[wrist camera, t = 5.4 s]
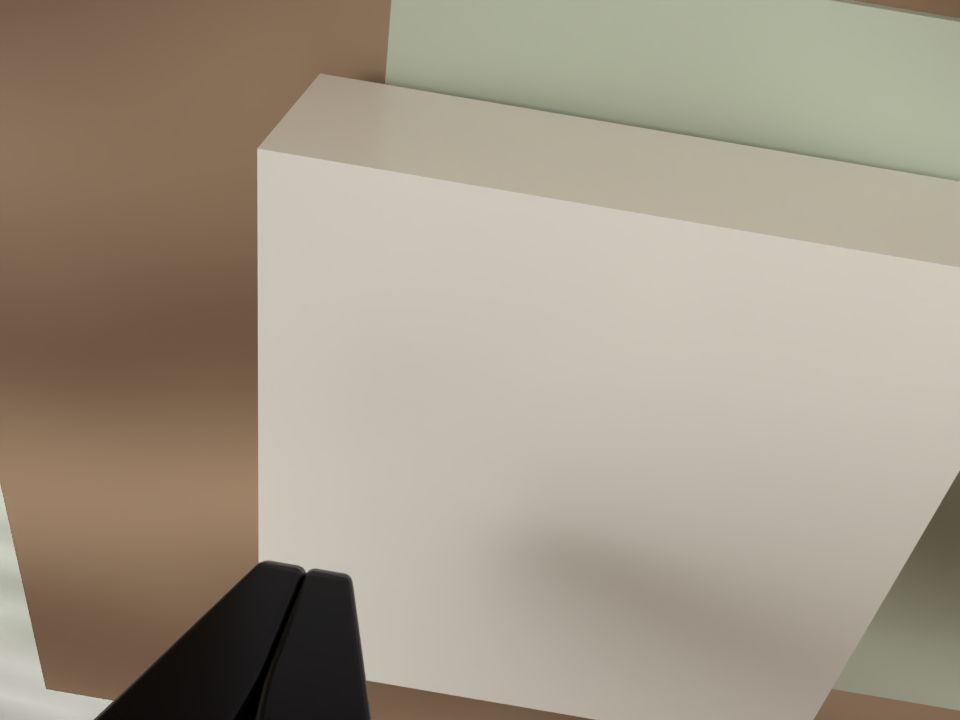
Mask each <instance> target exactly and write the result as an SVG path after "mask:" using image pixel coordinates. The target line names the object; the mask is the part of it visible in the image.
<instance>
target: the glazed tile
mask: <svg viewBox="0 0 960 720" xmlns="http://www.w3.org/2000/svg"><path fill="white" fill-rule="evenodd" d="M257 233H258V561H259V563H260V562H263V561H265V560H268V561H269V560H270V561H276V562H282V563H288V564H294V565H299V566H301V567H303V568H304V569H305V571H306V573H307V572H308V571H309V570H310V569H314V568H317V569H323V570H329V571H334V572H340V573H346V574H348V575H349V576H350V577H351V578H352V581H353V587H354V594H355V602H356V609H357V617H358V624H359V631H360V639H361V646H362V654H363V661H364V668H365V676H366V680H367V681H373V682H378V683H384V684H390V685H396V686H402V687H408V688H414V689H419V690H425V691H431V692H437V693H443V694H449V695H454V696H460V697H466V698H472V699H478V700H484V701H489V702H495V703H501V704H507V705H513V706H519V707H525V708H530V709H536V710H542V711H548V712H554V713H560V714H565V715H571V716H577V717H583V718H589V719H595V720H814V718H815V716H816V715H817V713H818V711H819V710H820V708H821V706H822V704H823V703H824V701H825V699H826V698H827V696H828V694H829V693H830V691H831V689H832V687H833V686H834V684H835V682H836V681H837V679H838V677H839V675H840V674H841V672H842V670H843V669H844V667H845V665H846V664H847V662H848V660H849V658H850V657H851V655H852V653H853V652H854V650H855V648H856V646H857V645H858V643H859V641H860V640H861V638H862V636H863V635H864V633H865V631H866V629H867V628H868V626H869V624H870V623H871V621H872V619H873V618H874V616H875V614H876V612H877V611H878V609H879V607H880V606H881V604H882V602H883V600H884V599H885V597H886V595H887V594H888V592H889V590H890V589H891V587H892V585H893V583H894V582H895V580H896V578H897V577H898V575H899V573H900V571H901V570H902V568H903V566H904V565H905V563H906V561H907V560H908V558H909V556H910V554H911V553H912V551H913V549H914V548H915V546H916V544H917V542H918V541H919V539H920V537H921V536H922V534H923V532H924V531H925V529H926V527H927V525H928V524H929V522H930V520H931V519H932V517H933V515H934V513H935V512H936V510H937V508H938V507H939V505H940V503H941V502H942V500H943V498H944V496H945V495H946V493H947V491H948V490H949V488H950V486H951V484H952V483H953V481H954V479H955V478H956V476H957V474H958V473H959V471H960V181H954V180H948V179H942V178H936V177H930V176H924V175H918V174H912V173H906V172H901V171H895V170H889V169H883V168H877V167H871V166H865V165H859V164H853V163H847V162H841V161H835V160H830V159H824V158H818V157H812V156H806V155H800V154H794V153H788V152H782V151H776V150H770V149H764V148H759V147H753V146H747V145H741V144H735V143H729V142H723V141H717V140H711V139H705V138H699V137H693V136H688V135H682V134H676V133H670V132H664V131H658V130H652V129H646V128H640V127H634V126H628V125H622V124H617V123H611V122H605V121H599V120H593V119H587V118H581V117H575V116H569V115H563V114H557V113H551V112H546V111H540V110H534V109H528V108H522V107H516V106H510V105H504V104H498V103H492V102H486V101H480V100H475V99H469V98H463V97H457V96H451V95H445V94H439V93H433V92H427V91H421V90H415V89H409V88H404V87H398V86H392V85H386V84H380V83H374V82H368V81H362V80H356V79H350V78H344V77H338V76H333V75H327V74H321V73H320V74H319V75H318V77H317V78H316V79H315V80H314V81H313V83H312V84H311V85H310V86H309V87H308V89H307V90H306V91H305V92H304V93H303V94H302V96H301V97H300V98H299V99H298V100H297V102H296V103H295V104H294V105H293V106H292V108H291V109H290V110H289V111H288V112H287V114H286V115H285V116H284V117H283V118H282V120H281V121H280V122H279V123H278V124H277V126H276V127H275V128H274V129H273V130H272V132H271V133H270V134H269V135H268V136H267V138H266V139H265V140H264V141H263V142H262V143H261V145H260V146H259V147H258V148H257Z"/></svg>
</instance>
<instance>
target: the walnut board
mask: <svg viewBox="0 0 960 720" xmlns="http://www.w3.org/2000/svg"><path fill="white" fill-rule="evenodd" d="M320 73H321V74H327V75H333V76H338V77H344V78H350V79H356V80H362V81H368V82H374V83H380V84H386V85H392V86H398V87H404V88H409V89H415V90H421V91H427V92H433V93H439V94H445V95H451V96H457V97H463V98H469V99H475V100H480V101H486V102H492V103H498V104H504V105H510V106H516V107H522V108H528V109H534V110H540V111H546V112H551V113H557V114H563V115H569V116H575V117H581V118H587V119H593V120H599V121H605V122H611V123H617V124H622V125H628V126H634V127H640V128H646V129H652V130H658V131H664V132H670V133H676V134H682V135H688V136H693V137H699V138H705V139H711V140H717V141H723V142H729V143H735V144H741V145H747V146H753V147H759V148H764V149H770V150H776V151H782V152H788V153H794V154H800V155H806V156H812V157H818V158H824V159H830V160H835V161H841V162H847V163H853V164H859V165H865V166H871V167H877V168H883V169H889V170H895V171H901V172H906V173H912V174H918V175H924V176H930V177H936V178H942V179H948V180H954V181H960V0H0V484H1V488H2V493H3V497H4V502H5V506H6V511H7V515H8V520H9V524H10V529H11V533H12V538H13V542H14V547H15V551H16V556H17V560H18V565H19V569H20V574H21V578H22V583H23V587H24V592H25V596H26V601H27V605H28V610H29V614H30V619H31V623H32V628H33V632H34V637H35V641H36V646H37V650H38V655H39V659H40V664H41V668H42V673H43V677H44V682H45V686H46V689H49V690H55V691H61V692H67V693H73V694H79V695H84V696H90V697H96V698H102V699H108V700H115V699H116V698H117V697H118V696H119V695H120V694H121V693H122V692H123V691H125V690H126V689H127V688H128V687H129V686H130V685H131V684H132V683H133V682H134V681H135V680H136V679H137V678H138V677H139V676H140V675H141V674H142V673H143V672H144V671H146V670H147V669H148V668H149V667H150V666H151V665H152V664H153V663H154V662H155V661H156V660H157V659H158V658H159V657H160V656H161V655H162V654H163V653H164V652H165V651H167V650H168V649H169V648H170V647H171V646H172V645H173V644H174V643H175V642H176V641H177V640H178V639H179V638H180V637H181V636H182V635H183V634H184V633H185V632H186V631H187V630H189V629H190V628H191V627H192V626H193V625H194V624H195V623H196V622H197V621H198V620H199V619H200V618H201V617H202V616H203V615H204V614H205V613H206V612H207V611H208V610H210V609H211V608H212V607H213V606H214V605H215V604H216V603H217V602H218V601H219V600H220V599H221V598H222V597H223V596H224V595H225V594H226V593H227V592H228V591H229V590H231V589H232V588H233V587H234V586H235V585H236V584H237V583H238V582H239V581H240V580H241V579H242V578H243V577H244V576H245V575H246V574H247V573H248V572H249V571H250V570H252V569H253V568H254V567H255V566H256V565H257V564H258V563H259V561H258V233H257V148H258V147H259V146H260V145H261V143H262V142H263V141H264V140H265V139H266V138H267V136H268V135H269V134H270V133H271V132H272V130H273V129H274V128H275V127H276V126H277V124H278V123H279V122H280V121H281V120H282V118H283V117H284V116H285V115H286V114H287V112H288V111H289V110H290V109H291V108H292V106H293V105H294V104H295V103H296V102H297V100H298V99H299V98H300V97H301V96H302V94H303V93H304V92H305V91H306V90H307V89H308V87H309V86H310V85H311V84H312V83H313V81H314V80H315V79H316V78H317V77H318V75H319V74H320ZM366 683H367V691H368V698H369V706H370V713H371V720H595V719H589V718H583V717H577V716H571V715H565V714H560V713H554V712H548V711H542V710H536V709H530V708H525V707H519V706H513V705H507V704H501V703H495V702H489V701H484V700H478V699H472V698H466V697H460V696H454V695H449V694H443V693H437V692H431V691H425V690H419V689H414V688H408V687H402V686H396V685H390V684H384V683H378V682H373V681H367V680H366ZM814 720H960V471H959V473H958V474H957V476H956V478H955V479H954V481H953V483H952V484H951V486H950V488H949V490H948V491H947V493H946V495H945V496H944V498H943V500H942V502H941V503H940V505H939V507H938V508H937V510H936V512H935V513H934V515H933V517H932V519H931V520H930V522H929V524H928V525H927V527H926V529H925V531H924V532H923V534H922V536H921V537H920V539H919V541H918V542H917V544H916V546H915V548H914V549H913V551H912V553H911V554H910V556H909V558H908V560H907V561H906V563H905V565H904V566H903V568H902V570H901V571H900V573H899V575H898V577H897V578H896V580H895V582H894V583H893V585H892V587H891V589H890V590H889V592H888V594H887V595H886V597H885V599H884V600H883V602H882V604H881V606H880V607H879V609H878V611H877V612H876V614H875V616H874V618H873V619H872V621H871V623H870V624H869V626H868V628H867V629H866V631H865V633H864V635H863V636H862V638H861V640H860V641H859V643H858V645H857V646H856V648H855V650H854V652H853V653H852V655H851V657H850V658H849V660H848V662H847V664H846V665H845V667H844V669H843V670H842V672H841V674H840V675H839V677H838V679H837V681H836V682H835V684H834V686H833V687H832V689H831V691H830V693H829V694H828V696H827V698H826V699H825V701H824V703H823V704H822V706H821V708H820V710H819V711H818V713H817V715H816V716H815V718H814Z"/></svg>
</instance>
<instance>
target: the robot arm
mask: <svg viewBox="0 0 960 720" xmlns="http://www.w3.org/2000/svg"><path fill="white" fill-rule="evenodd" d="M94 720H371V713H370V706H369V698H368V691H367V683H366V676H365V668H364V661H363V654H362V646H361V639H360V631H359V624H358V617H357V609H356V602H355V594H354V587H353V581H352V578H351V577H350V576H349V575H348V574H346V573H340V572H334V571H329V570H323V569H317V568H314V569H310V570H309V571H308V572H307V573H306V571H305V569H304V568H303V567H301V566H299V565H294V564H288V563H282V562H276V561H270V560H269V561H268V560H265V561H263V562H260V563H258V564H257V565H256V566H255V567H254V568H253V569H252V570H250V571H249V572H248V573H247V574H246V575H245V576H244V577H243V578H242V579H241V580H240V581H239V582H238V583H237V584H236V585H235V586H234V587H233V588H232V589H231V590H229V591H228V592H227V593H226V594H225V595H224V596H223V597H222V598H221V599H220V600H219V601H218V602H217V603H216V604H215V605H214V606H213V607H212V608H211V609H210V610H208V611H207V612H206V613H205V614H204V615H203V616H202V617H201V618H200V619H199V620H198V621H197V622H196V623H195V624H194V625H193V626H192V627H191V628H190V629H189V630H187V631H186V632H185V633H184V634H183V635H182V636H181V637H180V638H179V639H178V640H177V641H176V642H175V643H174V644H173V645H172V646H171V647H170V648H169V649H168V650H167V651H165V652H164V653H163V654H162V655H161V656H160V657H159V658H158V659H157V660H156V661H155V662H154V663H153V664H152V665H151V666H150V667H149V668H148V669H147V670H146V671H144V672H143V673H142V674H141V675H140V676H139V677H138V678H137V679H136V680H135V681H134V682H133V683H132V684H131V685H130V686H129V687H128V688H127V689H126V690H125V691H123V692H122V693H121V694H120V695H119V696H118V697H117V698H116V699H115V700H114V701H113V702H112V703H111V704H110V705H109V706H108V707H107V708H106V709H105V710H104V711H102V712H101V713H100V714H99V715H98V716H97V717H96V718H95V719H94Z"/></svg>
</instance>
